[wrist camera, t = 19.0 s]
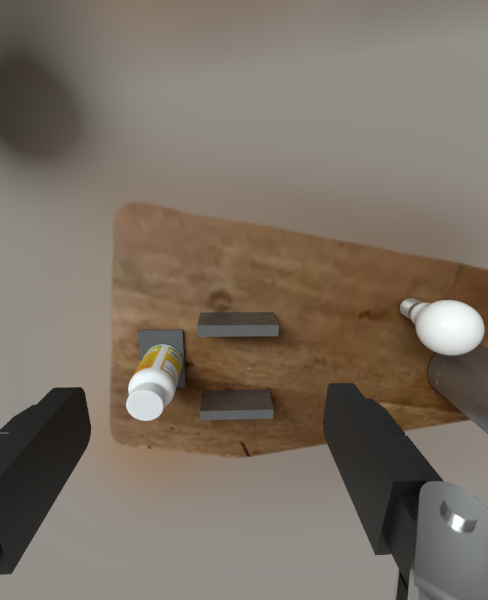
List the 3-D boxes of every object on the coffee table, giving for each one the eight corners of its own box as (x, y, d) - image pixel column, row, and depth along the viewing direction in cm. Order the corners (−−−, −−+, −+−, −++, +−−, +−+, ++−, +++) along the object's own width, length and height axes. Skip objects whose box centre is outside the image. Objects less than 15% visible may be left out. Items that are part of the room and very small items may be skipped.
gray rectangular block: (182, 329, 38) (182, 331, 38) (185, 385, 41) (185, 387, 41) (138, 329, 38) (137, 331, 38) (144, 385, 41) (143, 388, 40)
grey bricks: (273, 312, 38) (278, 325, 34) (268, 397, 43) (273, 418, 38) (200, 312, 38) (197, 325, 34) (203, 399, 42) (200, 420, 38)
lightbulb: (422, 326, 41) (490, 366, 30) (380, 325, 40) (434, 366, 30) (433, 284, 39) (509, 311, 28) (389, 283, 38) (450, 310, 28)
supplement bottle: (142, 373, 40) (116, 422, 30) (147, 340, 38) (121, 381, 29) (180, 379, 40) (166, 429, 31) (186, 347, 39) (173, 389, 30)
